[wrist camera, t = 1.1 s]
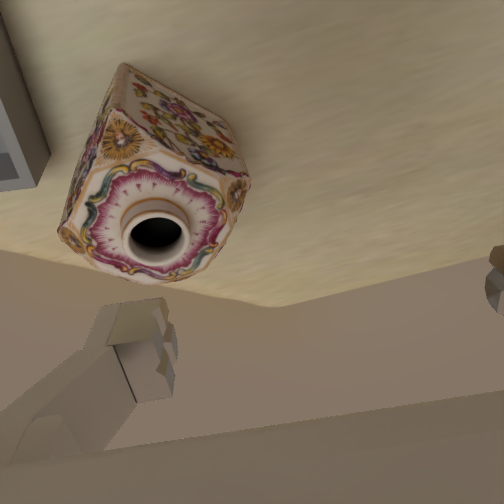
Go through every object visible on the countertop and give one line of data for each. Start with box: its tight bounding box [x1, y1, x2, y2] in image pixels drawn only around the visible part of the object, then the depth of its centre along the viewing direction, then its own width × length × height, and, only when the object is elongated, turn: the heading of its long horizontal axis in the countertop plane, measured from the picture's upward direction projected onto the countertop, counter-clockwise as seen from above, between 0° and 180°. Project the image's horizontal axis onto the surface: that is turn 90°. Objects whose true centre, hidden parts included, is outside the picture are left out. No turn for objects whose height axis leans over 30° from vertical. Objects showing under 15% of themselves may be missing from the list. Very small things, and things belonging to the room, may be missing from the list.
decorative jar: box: [57, 63, 251, 285], centre depth 35 cm, size 12×12×18 cm
